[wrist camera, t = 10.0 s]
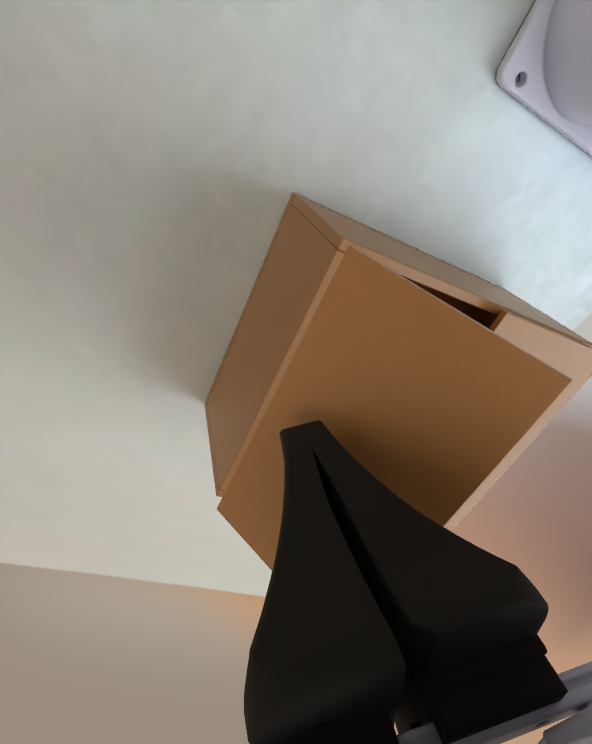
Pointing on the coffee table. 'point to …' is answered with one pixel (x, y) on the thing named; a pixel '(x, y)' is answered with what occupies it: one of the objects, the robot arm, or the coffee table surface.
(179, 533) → the coffee table surface
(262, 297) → the carton
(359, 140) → the coffee table surface
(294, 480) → the robot arm
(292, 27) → the coffee table surface
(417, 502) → the flap
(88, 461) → the coffee table surface
